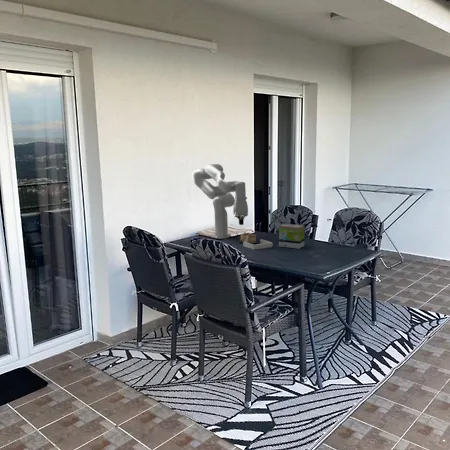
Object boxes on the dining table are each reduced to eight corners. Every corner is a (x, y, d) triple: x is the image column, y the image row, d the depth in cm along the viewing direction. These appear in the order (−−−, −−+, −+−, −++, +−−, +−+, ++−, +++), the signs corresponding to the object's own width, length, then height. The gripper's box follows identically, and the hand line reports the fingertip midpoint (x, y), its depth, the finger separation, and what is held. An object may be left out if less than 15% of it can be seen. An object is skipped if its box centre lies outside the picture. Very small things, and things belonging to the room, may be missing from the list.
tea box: (278, 247, 316) (278, 225, 314) (283, 244, 325) (283, 223, 323) (299, 249, 309) (300, 227, 307) (304, 246, 318) (304, 224, 316)
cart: (239, 242, 332) (239, 233, 331) (249, 241, 336) (249, 232, 335) (246, 245, 323) (246, 236, 322) (257, 243, 327) (257, 234, 326)
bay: (243, 246, 321) (243, 241, 321) (261, 243, 329) (261, 239, 328) (253, 249, 310) (253, 245, 309) (272, 246, 317) (272, 242, 316)
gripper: (246, 198, 340) (247, 223, 343) (228, 199, 333) (229, 225, 335) (252, 198, 333) (252, 224, 336) (234, 200, 326) (235, 226, 329)
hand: (241, 224), depth 336 cm, fingers closed
